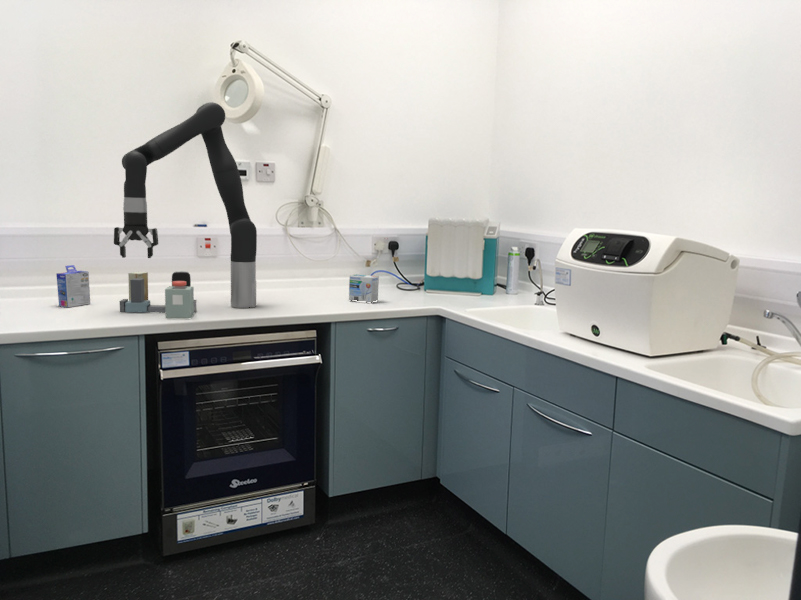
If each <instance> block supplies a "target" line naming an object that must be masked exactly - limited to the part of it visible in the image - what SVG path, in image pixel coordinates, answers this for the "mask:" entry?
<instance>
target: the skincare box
mask: <svg viewBox="0 0 801 600" xmlns="http://www.w3.org/2000/svg"><path fill="white" fill-rule="evenodd" d="M127 274H128V301H129V300H131V285H130V280H131V279H133V278H144V292H145V300H149V273H148V272H146V271H136V272H135V271H133V272H128V273H127Z"/></svg>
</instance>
